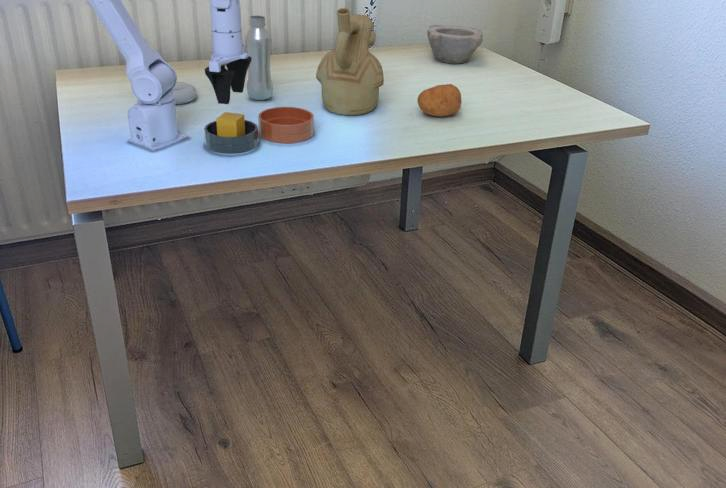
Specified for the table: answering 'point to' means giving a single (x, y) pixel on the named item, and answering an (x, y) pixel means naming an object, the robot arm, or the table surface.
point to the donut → (184, 92)
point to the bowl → (286, 124)
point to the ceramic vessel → (351, 68)
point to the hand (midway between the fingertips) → (230, 97)
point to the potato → (440, 100)
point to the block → (230, 125)
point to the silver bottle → (259, 59)
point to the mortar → (453, 42)
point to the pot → (231, 139)
